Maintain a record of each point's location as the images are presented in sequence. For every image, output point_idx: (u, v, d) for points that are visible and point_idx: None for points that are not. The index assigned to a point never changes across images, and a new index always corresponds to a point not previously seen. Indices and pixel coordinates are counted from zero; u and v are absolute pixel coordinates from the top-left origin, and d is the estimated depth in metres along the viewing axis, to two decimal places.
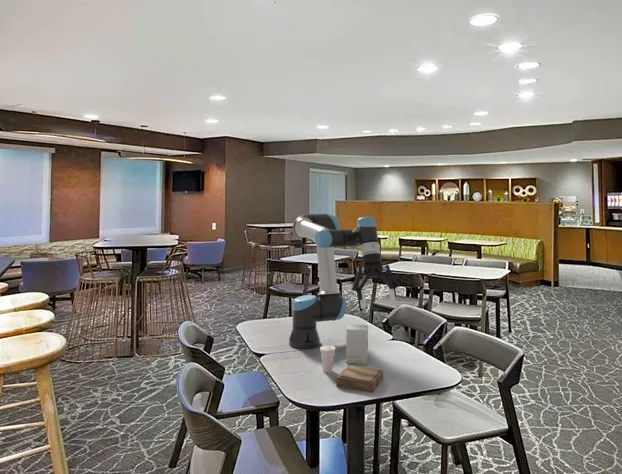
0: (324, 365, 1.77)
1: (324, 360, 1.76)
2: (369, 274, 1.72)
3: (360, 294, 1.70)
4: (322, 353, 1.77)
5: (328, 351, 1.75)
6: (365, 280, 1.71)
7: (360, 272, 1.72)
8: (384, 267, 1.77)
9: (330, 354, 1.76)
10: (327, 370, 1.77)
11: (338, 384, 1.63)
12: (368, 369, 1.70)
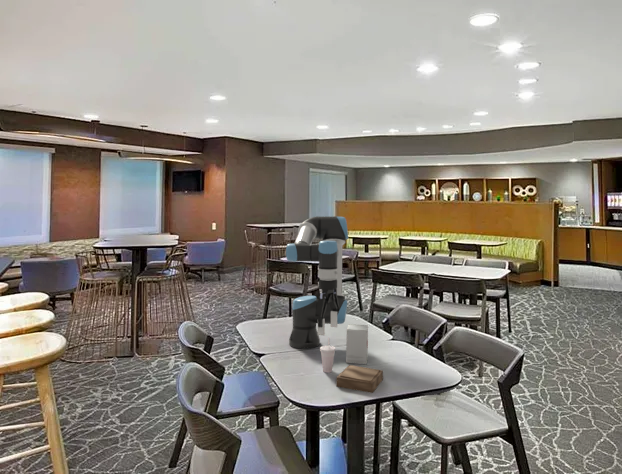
0: (324, 365, 1.77)
1: (324, 360, 1.76)
2: (328, 301, 1.73)
3: (321, 322, 1.70)
4: (322, 353, 1.77)
5: (328, 351, 1.75)
6: (325, 307, 1.72)
7: (324, 300, 1.70)
8: (333, 291, 1.81)
9: (330, 354, 1.76)
10: (327, 370, 1.77)
11: (338, 384, 1.63)
12: (368, 369, 1.70)
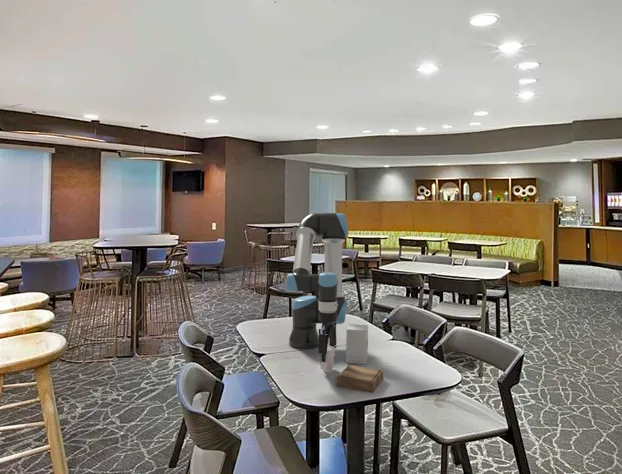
0: None
1: None
2: (329, 334, 1.75)
3: (325, 357, 1.74)
4: None
5: (328, 351, 1.75)
6: (327, 341, 1.75)
7: (325, 335, 1.72)
8: (333, 323, 1.82)
9: (330, 354, 1.76)
10: (327, 370, 1.77)
11: (338, 384, 1.63)
12: (368, 369, 1.70)
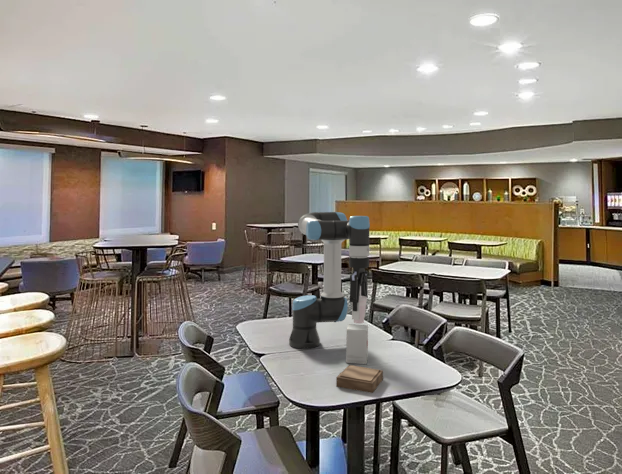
0: None
1: None
2: (361, 281, 1.62)
3: (356, 305, 1.61)
4: None
5: (360, 299, 1.62)
6: (359, 289, 1.61)
7: (357, 281, 1.59)
8: (364, 272, 1.69)
9: (362, 303, 1.62)
10: (358, 321, 1.64)
11: (338, 384, 1.63)
12: (368, 369, 1.70)
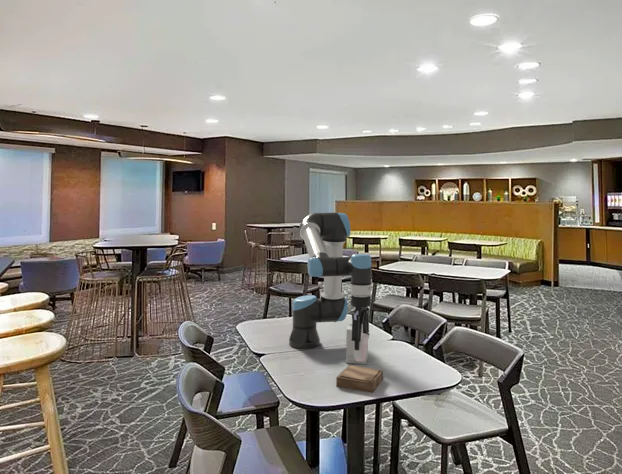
0: None
1: None
2: (363, 320, 1.62)
3: (358, 344, 1.61)
4: None
5: (362, 338, 1.62)
6: (361, 327, 1.62)
7: (359, 321, 1.59)
8: None
9: (364, 341, 1.63)
10: (360, 359, 1.64)
11: (338, 384, 1.63)
12: (368, 369, 1.70)
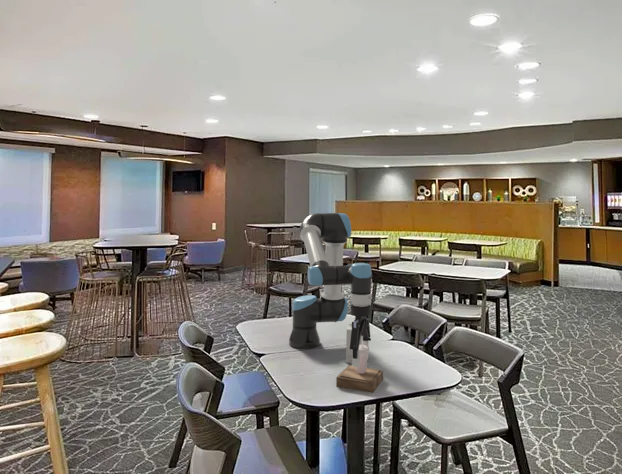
0: None
1: None
2: (362, 329, 1.62)
3: (356, 353, 1.60)
4: None
5: (362, 350, 1.64)
6: (360, 336, 1.61)
7: (358, 329, 1.59)
8: (365, 317, 1.69)
9: (364, 354, 1.64)
10: (361, 371, 1.65)
11: (338, 384, 1.63)
12: (368, 369, 1.70)
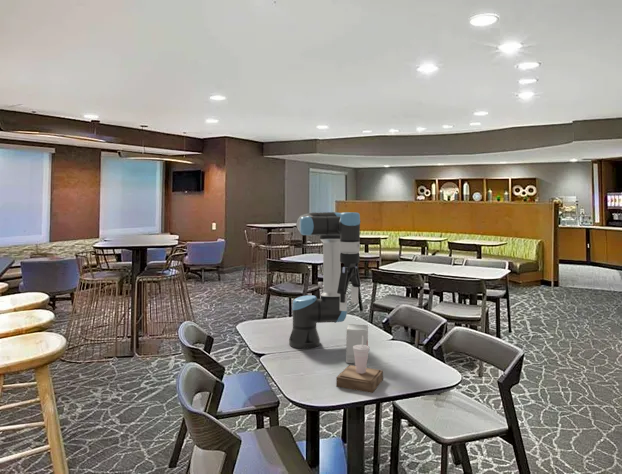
0: (358, 365, 1.66)
1: (358, 360, 1.65)
2: (351, 275, 1.65)
3: (344, 297, 1.62)
4: (355, 352, 1.65)
5: (362, 350, 1.64)
6: (348, 282, 1.64)
7: (347, 274, 1.62)
8: (354, 265, 1.73)
9: (364, 354, 1.64)
10: (361, 371, 1.65)
11: (338, 384, 1.63)
12: (368, 369, 1.70)
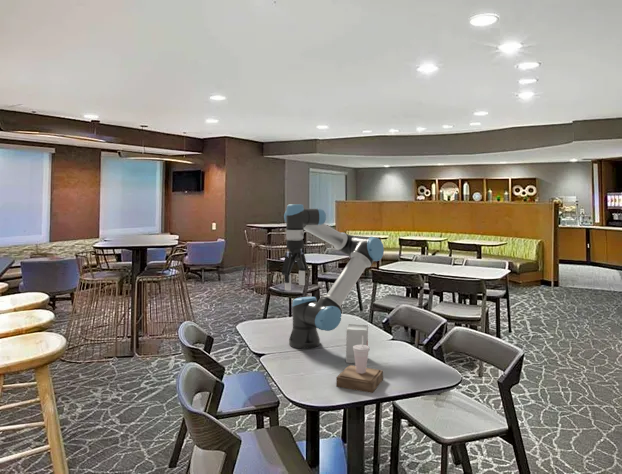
0: (358, 365, 1.66)
1: (358, 360, 1.65)
2: (295, 259, 1.88)
3: (288, 278, 1.84)
4: (355, 352, 1.65)
5: (362, 350, 1.64)
6: (292, 265, 1.86)
7: (290, 257, 1.85)
8: (300, 251, 1.95)
9: (364, 354, 1.64)
10: (361, 371, 1.65)
11: (338, 384, 1.63)
12: (368, 369, 1.70)
